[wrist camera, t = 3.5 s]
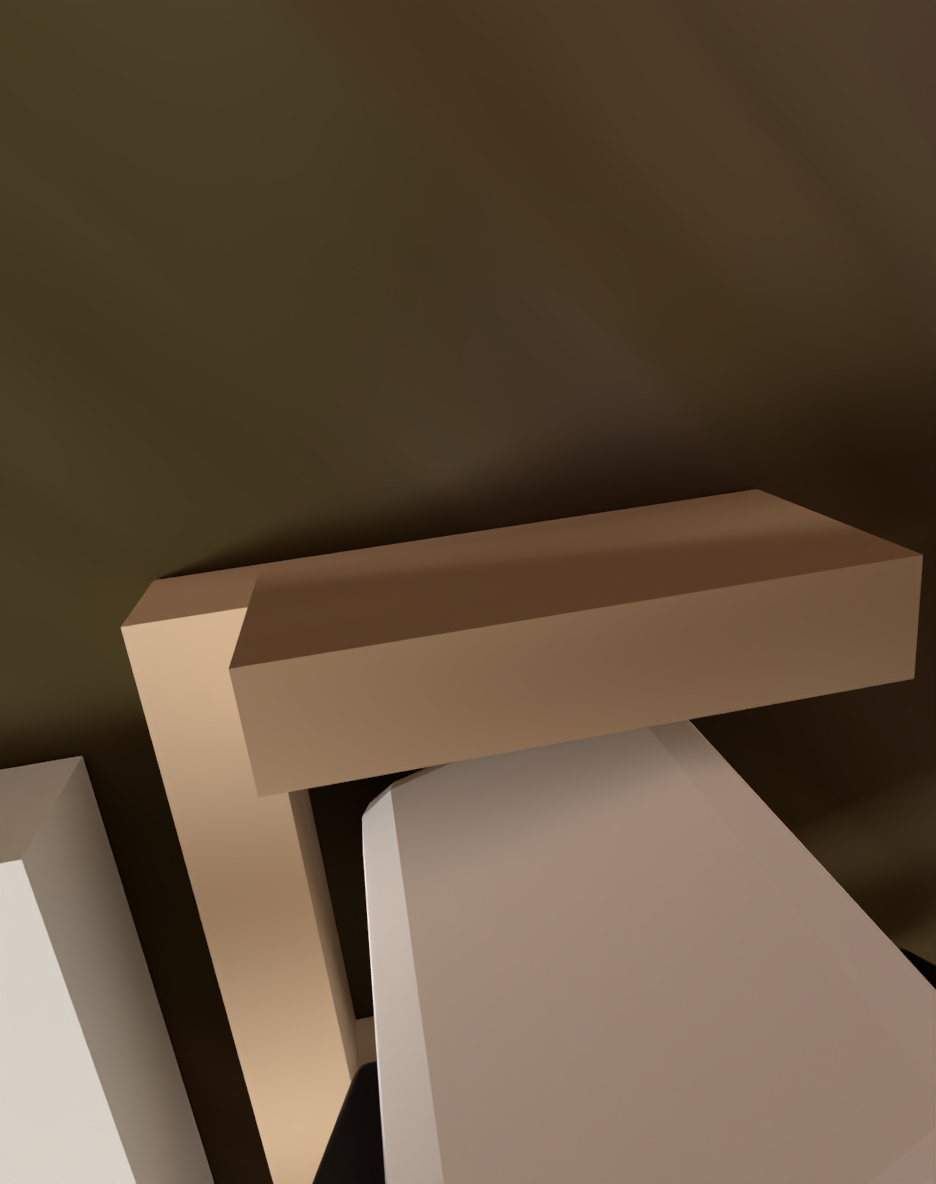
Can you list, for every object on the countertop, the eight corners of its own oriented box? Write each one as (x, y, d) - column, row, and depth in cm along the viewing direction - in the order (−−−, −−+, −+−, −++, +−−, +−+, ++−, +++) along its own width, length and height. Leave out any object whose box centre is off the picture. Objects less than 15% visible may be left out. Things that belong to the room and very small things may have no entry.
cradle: (755, 997, 13) (877, 1191, 10) (286, 1101, 12) (271, 1344, 9) (757, 488, 10) (922, 555, 7) (153, 579, 9) (72, 694, 6)
